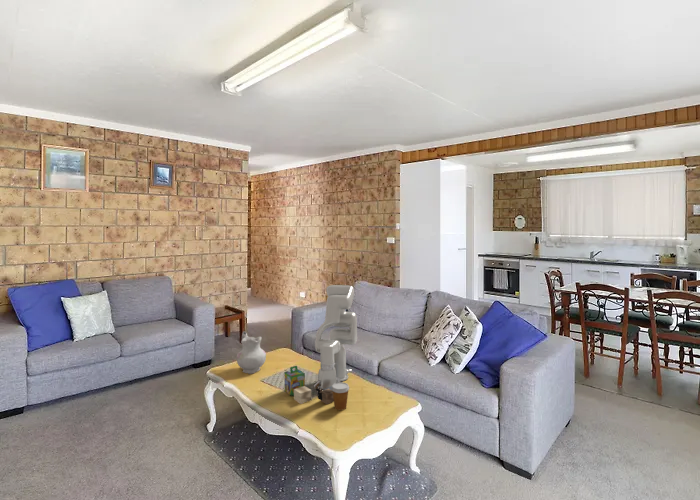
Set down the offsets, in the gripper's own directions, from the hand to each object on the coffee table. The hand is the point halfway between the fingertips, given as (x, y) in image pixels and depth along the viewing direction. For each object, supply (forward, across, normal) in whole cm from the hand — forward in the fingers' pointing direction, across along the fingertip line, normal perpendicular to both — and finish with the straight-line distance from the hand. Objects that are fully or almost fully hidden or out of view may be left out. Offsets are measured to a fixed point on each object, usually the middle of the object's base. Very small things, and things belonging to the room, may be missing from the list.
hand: (327, 396), depth 211 cm
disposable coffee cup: (+3, -1, +10) cm, 11 cm away
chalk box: (+3, +8, -22) cm, 24 cm away
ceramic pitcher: (+2, +13, -71) cm, 72 cm away
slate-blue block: (+2, -8, -10) cm, 14 cm away
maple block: (+3, +10, -10) cm, 14 cm away
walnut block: (+3, 0, 0) cm, 3 cm away
